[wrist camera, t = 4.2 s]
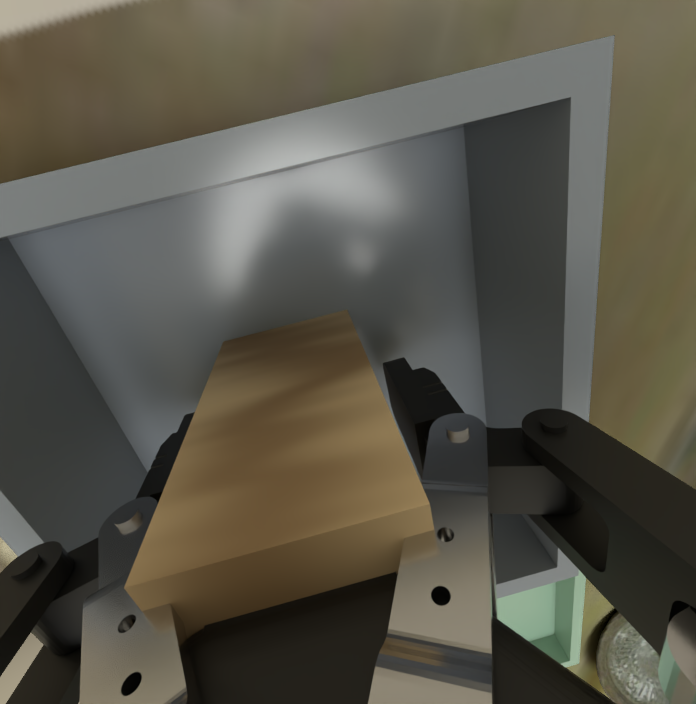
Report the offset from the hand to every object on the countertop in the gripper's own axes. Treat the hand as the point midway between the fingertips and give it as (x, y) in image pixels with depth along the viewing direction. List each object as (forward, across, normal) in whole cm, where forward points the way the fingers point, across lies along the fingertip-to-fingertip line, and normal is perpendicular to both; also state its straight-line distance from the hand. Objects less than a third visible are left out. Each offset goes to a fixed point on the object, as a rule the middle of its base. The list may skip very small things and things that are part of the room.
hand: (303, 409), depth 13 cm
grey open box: (+3, 0, 0) cm, 3 cm away
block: (+2, 0, 0) cm, 2 cm away
